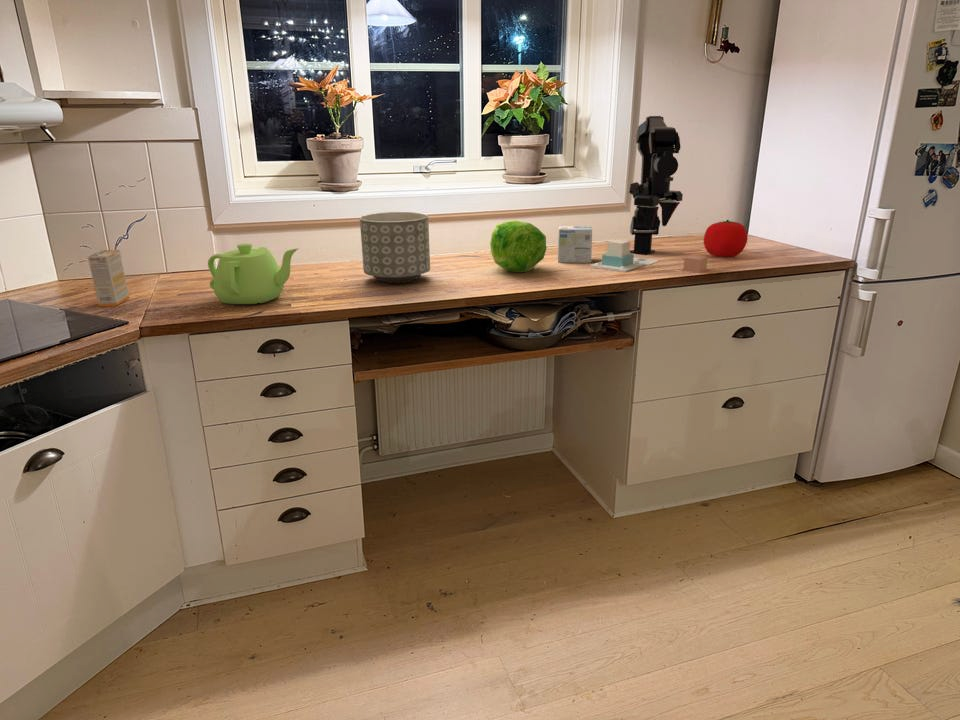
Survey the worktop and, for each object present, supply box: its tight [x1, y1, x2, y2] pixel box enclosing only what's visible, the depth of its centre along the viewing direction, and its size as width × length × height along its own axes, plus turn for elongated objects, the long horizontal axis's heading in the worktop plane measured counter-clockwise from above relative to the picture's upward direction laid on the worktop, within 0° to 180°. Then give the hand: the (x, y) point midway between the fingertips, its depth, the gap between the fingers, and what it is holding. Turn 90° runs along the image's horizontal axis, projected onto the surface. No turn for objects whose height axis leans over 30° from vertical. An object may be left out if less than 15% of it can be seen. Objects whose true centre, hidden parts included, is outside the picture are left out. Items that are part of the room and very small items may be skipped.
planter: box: [359, 211, 431, 284], centre depth 193 cm, size 19×19×18 cm
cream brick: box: [606, 239, 631, 257], centre depth 207 cm, size 5×5×4 cm
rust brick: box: [682, 254, 708, 274], centre depth 202 cm, size 5×5×4 cm
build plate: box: [589, 253, 645, 273], centre depth 209 cm, size 12×12×4 cm
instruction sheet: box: [633, 257, 660, 266], centre depth 216 cm, size 7×10×1 cm
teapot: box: [207, 243, 300, 305], centre depth 176 cm, size 19×20×14 cm
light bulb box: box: [557, 225, 593, 264], centre depth 216 cm, size 11×7×11 cm, turn 84°
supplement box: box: [87, 249, 130, 307], centre depth 174 cm, size 8×5×13 cm, turn 5°
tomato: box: [703, 219, 748, 258], centre depth 220 cm, size 13×14×12 cm
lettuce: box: [490, 220, 548, 273], centre depth 204 cm, size 17×20×15 cm
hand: (656, 227), depth 202 cm, fingers open, 9 cm apart
